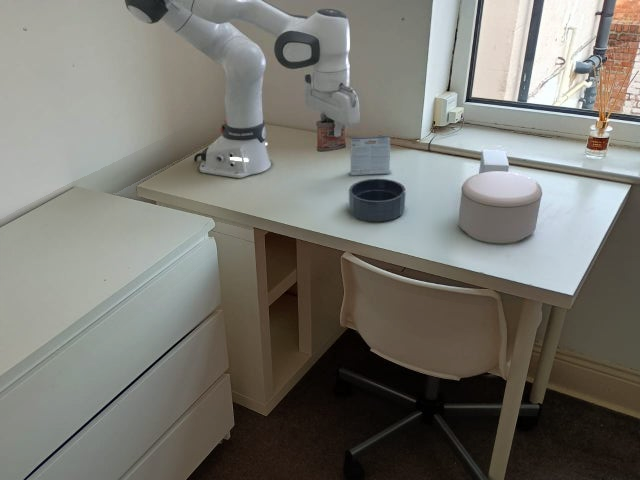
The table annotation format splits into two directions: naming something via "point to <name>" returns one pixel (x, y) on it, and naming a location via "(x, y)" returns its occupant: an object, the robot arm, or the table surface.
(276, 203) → the table surface
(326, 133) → the lighter
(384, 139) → the ink box
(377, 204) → the bowl
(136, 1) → the robot arm
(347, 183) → the table surface
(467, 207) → the container
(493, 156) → the cosmetics box
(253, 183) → the table surface
